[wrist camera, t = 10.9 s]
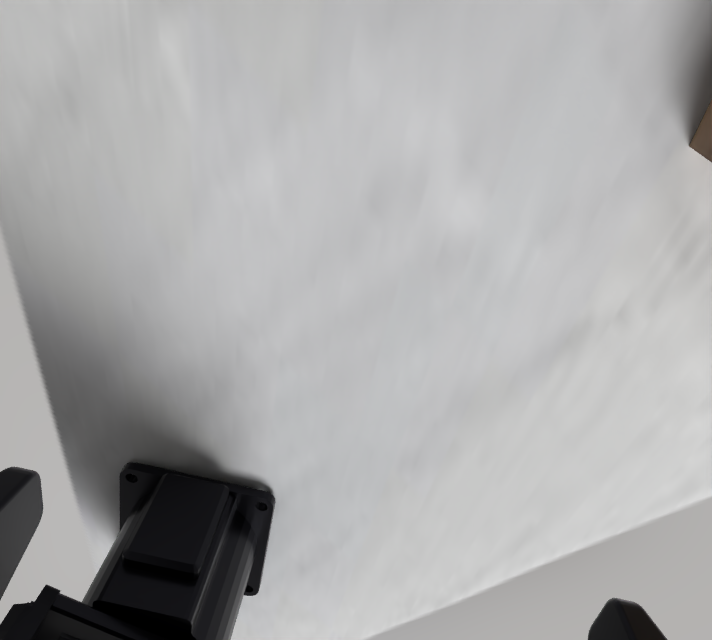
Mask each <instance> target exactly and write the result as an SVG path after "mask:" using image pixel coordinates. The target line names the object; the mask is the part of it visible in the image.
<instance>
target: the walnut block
mask: <svg viewBox="0 0 712 640" xmlns="http://www.w3.org/2000/svg"><path fill="white" fill-rule="evenodd" d="M689 146H690V147H691V148H692V149H694V150H695V151H697V152H698V153H699V154H701V155H702V156H704V157H705V158H706V159H708V160H709V161H711V162H712V100H711V102H710V104H709V106H708V108H707V110H706V112H705V114H704V116H703V118H702V121H701V123H700V125H699V127H698V129H697V131H696V133H695V135H694V137H693V139H692V141H691V143H690V145H689Z"/></svg>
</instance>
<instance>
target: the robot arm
mask: <svg viewBox="0 0 712 640" xmlns="http://www.w3.org/2000/svg"><path fill="white" fill-rule="evenodd" d="M132 474H133V475H132ZM260 502H263V503H265V504H263V503H260ZM274 507H275V498H274V496H273V495H272V494H271V493H269V492H266V491H262V490H258V489H253V488H249V487H244V486H240V485H235V484H230V483H226V482H221V481H217V480H212V479H208V478H203V477H198V476H194V475H189V474H185V473H180V472H176V471H171V470H166V469H162V468H157V467H153V466H148V465H144V464H139V463H132V462H131V463H127V464H126V465H125V466H124V468H123V469H122V471H121V473H120V533H119V535H118V536H117V538H116V540H115V542H114V544H113V546H112V547H111V549H110V551H109V553H108V555H107V557H106V558H105V560H104V562H103V564H102V566H101V568H100V569H99V571H98V573H97V575H96V577H95V579H94V581H93V582H92V584H91V586H90V588H89V590H88V592H87V594H86V595H85V597H84V599H83V601H82V602H79V601H77V600H74V599H72V598H69V597H67V596H65V595H63V594H60V590H58V589H56V588H53V587H51V586H49V585H46V586H45V587H44V588H43V590H42V591H41V593H40V595H39V596H38V597H37V599H36V601H35V602H33V601H31V603H25V604H14V605H13V606H12V608H11V609H10V611H9V612H8V614H7V615H6V617H5V618H4V620H3V622H2V623H1V625H0V640H230V639H231V636H232V632H233V629H234V625H235V622H236V619H237V615H238V612H239V608H240V605H241V602H242V598H243V595H247V596H253V595H256V594H257V593H258V591H259V588H260V584H261V579H262V573H263V568H264V562H265V557H266V551H267V546H268V540H269V535H270V529H271V524H272V518H273V512H274ZM42 513H43V502H42V490H41V481H40V476H39V474H38V473H37V472H36V471H33V470H28V469H23V468H19V467H10V468H7V469H5V470H3V471H1V472H0V600H1V598H2V596H3V594H4V592H5V590H6V588H7V586H8V584H9V582H10V580H11V578H12V576H13V574H14V572H15V570H16V568H17V566H18V564H19V562H20V560H21V558H22V556H23V554H24V552H25V550H26V548H27V546H28V544H29V542H30V540H31V538H32V536H33V534H34V533H35V531H36V528H37V527H38V524H39V522H40V520H41V517H42ZM588 640H667V638H666V637H665V636H664V635H663V633H662V632H661V631H660V629H659V628H658V627H657V626H656V624H655V623H654V622H653V621H652V619H651V618H650V617H649V615H648V614H647V613H646V612H645V610H644V609H643V608H642V607H641V606H640V605H639V604H637V603H635V602H632V601H627V600H622V599H618V598H612V599H610V600H608V601H607V603H606V604H605V606H604V607H603V609H602V610H601V612H600V613H599V615H598V617H597V618H596V619H595V621H594V623H593V624H592V626H591V628H590V630H589V634H588Z"/></svg>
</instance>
